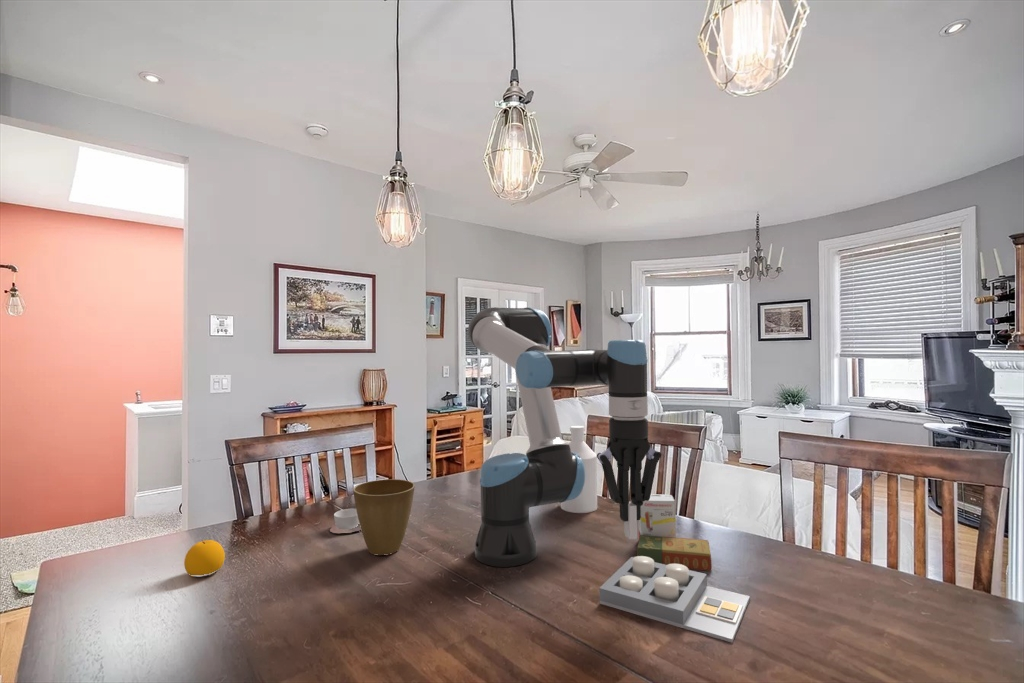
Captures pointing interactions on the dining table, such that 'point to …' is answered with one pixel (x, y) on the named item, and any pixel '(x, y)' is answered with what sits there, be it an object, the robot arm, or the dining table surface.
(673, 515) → the ink box
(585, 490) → the bottle
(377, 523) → the plant pot
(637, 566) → the button
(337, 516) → the teacup
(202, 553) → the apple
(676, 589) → the button
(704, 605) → the keypad board
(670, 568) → the button
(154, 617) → the dining table surface
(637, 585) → the button
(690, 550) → the carton
